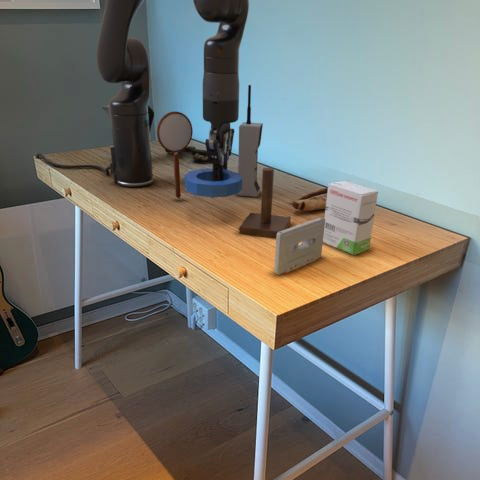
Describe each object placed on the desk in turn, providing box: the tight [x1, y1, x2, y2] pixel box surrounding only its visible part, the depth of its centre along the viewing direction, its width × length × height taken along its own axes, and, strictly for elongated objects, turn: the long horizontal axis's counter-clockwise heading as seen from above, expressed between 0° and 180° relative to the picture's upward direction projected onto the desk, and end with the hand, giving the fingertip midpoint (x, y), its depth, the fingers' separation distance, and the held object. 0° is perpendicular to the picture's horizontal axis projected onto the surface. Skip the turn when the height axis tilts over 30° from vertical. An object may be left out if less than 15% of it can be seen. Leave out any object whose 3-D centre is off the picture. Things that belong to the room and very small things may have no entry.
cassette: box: [273, 216, 325, 276], centre depth 87 cm, size 12×2×8 cm, turn 133°
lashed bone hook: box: [292, 187, 328, 212], centre depth 116 cm, size 9×5×18 cm
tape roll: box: [184, 167, 242, 198], centre depth 106 cm, size 12×12×3 cm
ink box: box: [323, 180, 379, 256], centre depth 94 cm, size 9×5×12 cm, turn 39°
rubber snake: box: [164, 145, 209, 164], centre depth 152 cm, size 18×5×10 cm
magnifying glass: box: [156, 110, 194, 202], centre depth 113 cm, size 9×2×20 cm, turn 121°
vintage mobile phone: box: [237, 84, 264, 198], centre depth 117 cm, size 4×5×25 cm
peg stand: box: [238, 167, 292, 239], centre depth 101 cm, size 9×9×12 cm
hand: (220, 179), depth 111 cm, fingers closed on tape roll, 2 cm apart
